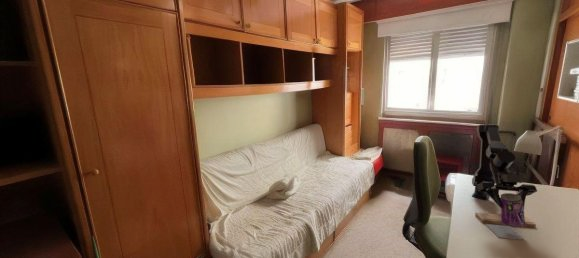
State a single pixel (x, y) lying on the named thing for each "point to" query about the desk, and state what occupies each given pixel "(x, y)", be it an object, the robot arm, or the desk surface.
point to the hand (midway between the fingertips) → (512, 208)
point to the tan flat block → (499, 219)
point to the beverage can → (512, 210)
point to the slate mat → (504, 232)
